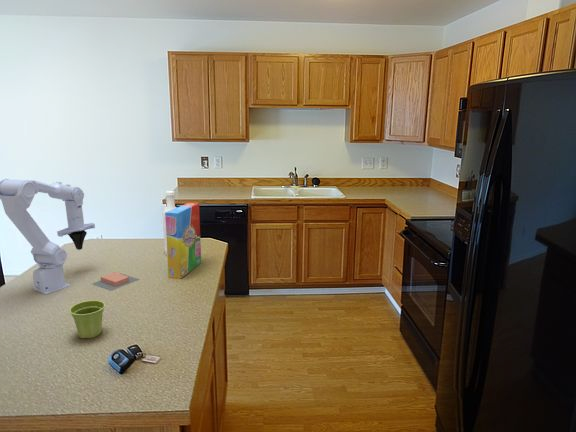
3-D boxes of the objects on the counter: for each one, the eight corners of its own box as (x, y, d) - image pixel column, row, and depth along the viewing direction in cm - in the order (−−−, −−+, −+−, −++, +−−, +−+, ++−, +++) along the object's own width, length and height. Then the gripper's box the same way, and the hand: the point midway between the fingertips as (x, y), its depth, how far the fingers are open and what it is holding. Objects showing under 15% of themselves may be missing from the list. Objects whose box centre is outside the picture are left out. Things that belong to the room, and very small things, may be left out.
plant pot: (98, 322, 126) (95, 297, 124) (113, 332, 120) (110, 306, 118) (67, 334, 119) (63, 307, 117) (81, 345, 113) (78, 317, 111)
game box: (180, 279, 160) (177, 213, 154) (168, 278, 161) (163, 212, 155) (201, 262, 180) (199, 202, 174) (190, 261, 181) (187, 202, 175)
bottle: (164, 251, 193) (160, 190, 186) (181, 250, 196) (178, 189, 188) (165, 257, 186) (161, 193, 179) (182, 255, 188) (179, 192, 181)
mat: (110, 291, 148) (110, 290, 148) (91, 284, 154) (91, 283, 154) (139, 280, 159) (139, 279, 159) (120, 273, 165) (120, 273, 165)
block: (115, 282, 151) (128, 276, 156) (100, 277, 156) (114, 272, 161) (115, 286, 152) (129, 281, 157) (101, 281, 156) (114, 276, 161)
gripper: (62, 222, 152) (67, 256, 155) (97, 214, 164) (101, 245, 167) (52, 219, 155) (57, 252, 159) (87, 211, 167) (91, 242, 171)
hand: (79, 249), depth 163 cm, fingers closed
